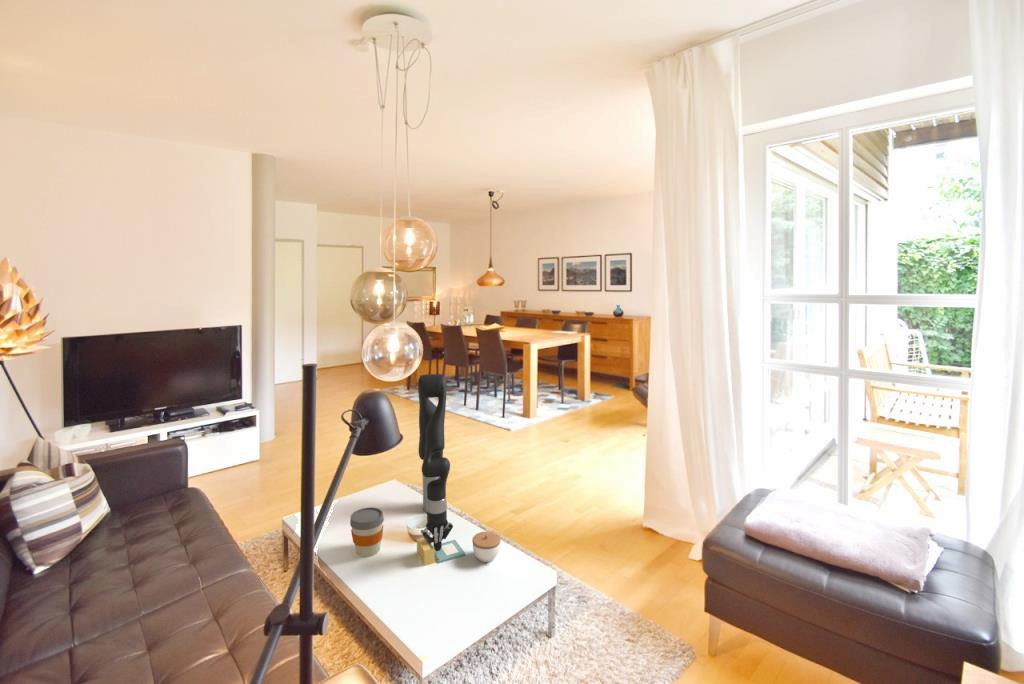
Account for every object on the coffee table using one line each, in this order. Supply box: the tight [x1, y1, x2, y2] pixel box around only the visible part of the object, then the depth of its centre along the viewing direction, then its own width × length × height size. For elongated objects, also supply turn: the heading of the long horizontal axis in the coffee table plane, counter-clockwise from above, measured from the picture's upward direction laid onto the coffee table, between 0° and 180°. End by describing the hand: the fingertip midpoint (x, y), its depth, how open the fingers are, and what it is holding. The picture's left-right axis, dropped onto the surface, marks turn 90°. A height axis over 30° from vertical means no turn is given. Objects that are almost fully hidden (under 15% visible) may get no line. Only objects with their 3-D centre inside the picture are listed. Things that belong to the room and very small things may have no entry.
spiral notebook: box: [435, 539, 467, 564], centre depth 191 cm, size 11×11×1 cm
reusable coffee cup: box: [349, 507, 385, 558], centre depth 190 cm, size 13×13×15 cm
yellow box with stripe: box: [416, 536, 436, 567], centre depth 186 cm, size 9×4×6 cm, turn 29°
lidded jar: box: [471, 531, 501, 563], centre depth 187 cm, size 11×11×9 cm
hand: (437, 549), depth 188 cm, fingers closed
